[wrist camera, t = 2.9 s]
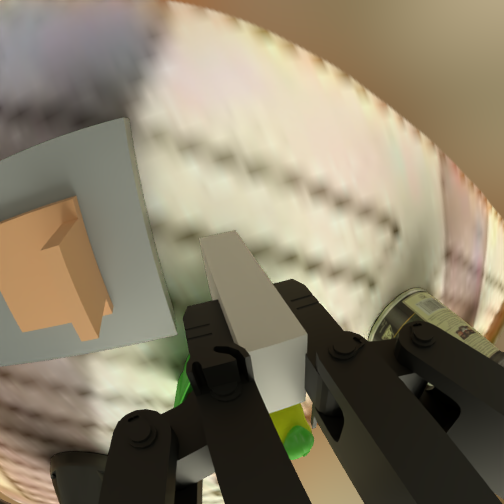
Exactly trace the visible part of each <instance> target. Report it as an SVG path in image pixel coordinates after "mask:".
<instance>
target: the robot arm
mask: <svg viewBox="0 0 504 504" xmlns="http://www.w3.org/2000/svg"><path fill="white" fill-rule="evenodd" d="M199 241H200V246H201V251H202V256H203V261H204V266H205V270H206V275H207V280H208V285H209V289H210V294H211V297H212V300H213V301H209V302H205V303H200V304H196V305H192V306H188V307H187V309H186V312H185V314H184V316H183V321H184V327H185V331H186V338H187V343H188V348H189V354H190V358H189V360H188V362H187V365H186V374H187V377H188V379H189V381H190V384H191V386H192V389H193V390H192V392H191V394H190V395H189V397H188V398H187V399H186V400H185V401H184V402H183V403H181V404H180V405H178V406H177V407H175V408H173V409H171V410H169V411H167V412H165V413H163V414H160V413H158V412H157V411H152V410H148V409H144V410H136V411H133V412H131V413H129V414H127V415H125V416H124V417H123V418H122V419H121V420H120V421H119V422H118V423H117V425H116V428H115V430H114V432H113V436H112V440H111V444H110V449H109V453H108V456H106V455H101V454H95V453H88V452H64V453H59V454H56V455H54V456H53V457H52V458H51V462H50V475H51V479H52V482H53V486H54V489H55V492H56V495H57V498H58V501H59V503H60V504H202V482H203V479H204V478H205V477H207V476H209V475H211V474H213V473H214V472H215V473H216V476H217V480H218V483H219V486H220V490H221V493H222V496H223V499H224V502H225V504H312V503H311V501H310V500H309V497H308V496H307V493H306V491H305V489H304V488H303V486H302V483H301V481H300V480H299V477H298V475H297V473H296V471H295V469H294V467H293V465H292V463H291V460H290V458H289V456H288V454H287V452H286V450H285V448H284V446H283V443H282V441H281V439H280V437H279V435H278V432H277V430H276V428H275V426H274V424H273V421H272V419H271V417H270V415H269V413H272V412H275V411H278V410H281V409H284V408H287V407H290V406H293V405H296V404H299V403H301V402H304V401H305V397H306V392H307V394H308V395H309V397H310V399H311V400H312V402H313V405H312V416H311V425H312V428H316V424H317V423H318V424H319V426H320V428H321V430H322V431H323V433H324V435H325V436H326V438H327V440H328V442H329V444H330V445H331V447H332V449H333V451H334V452H335V454H336V456H337V458H338V459H339V461H340V463H341V464H342V466H343V468H344V469H345V471H346V473H347V475H348V476H349V478H350V480H351V481H352V483H353V485H354V487H355V488H356V490H357V492H358V493H359V495H360V497H361V498H362V500H363V502H364V504H502V503H501V502H500V500H499V499H498V498H497V497H496V495H495V494H497V495H498V496H500V497H501V498H503V499H504V367H503V366H501V365H499V364H498V363H496V362H495V361H493V360H491V359H490V358H488V357H487V356H485V355H483V354H482V353H480V352H479V351H477V350H475V349H474V348H472V347H470V346H469V345H467V344H465V343H464V342H462V341H461V340H459V339H457V338H456V337H454V336H452V335H451V334H449V333H447V332H446V331H444V330H442V329H441V328H439V327H437V326H436V325H433V324H431V323H429V322H425V321H412V322H409V323H407V324H405V325H403V326H402V328H401V329H400V331H399V333H398V337H397V338H394V339H387V340H380V341H367V340H366V339H365V338H363V337H362V336H361V335H359V334H356V333H353V332H350V331H343V329H342V328H341V327H340V326H339V325H338V324H337V322H336V321H335V320H334V319H333V318H332V316H331V315H330V314H329V313H328V312H327V311H326V309H325V308H324V307H323V306H322V305H321V304H320V303H319V301H318V300H317V299H316V298H315V297H314V296H313V295H312V293H311V292H310V291H309V290H308V288H307V287H306V286H305V285H304V284H302V283H300V282H298V281H296V280H294V279H290V280H286V281H282V282H279V283H275V284H272V282H271V281H270V279H269V278H268V276H267V275H266V274H265V272H264V271H263V269H262V268H261V266H260V265H259V264H258V262H257V261H256V259H255V258H254V256H253V255H252V253H251V252H250V251H249V249H248V248H247V246H246V245H245V243H244V242H243V241H242V239H241V238H240V236H239V235H238V233H237V232H236V230H234V231H229V232H225V233H220V234H215V235H211V236H206V237H202V238H199ZM428 382H429V383H430V384H432V385H433V386H430V385H428ZM494 493H495V494H494ZM0 504H11V503H8V502H6V501H4V500H2V499H0Z"/></svg>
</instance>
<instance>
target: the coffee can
mask: <svg viewBox="0 0 504 504" xmlns="http://www.w3.org/2000/svg"><path fill="white" fill-rule="evenodd" d="M412 321H425V322H429V323H431V324H433V325H436V326H437V327H439V328H441V329H442V330H444V331H446V332H447V333H449V334H451V335H452V336H454V337H456V338H457V339H459V340H461V341H462V342H464V343H465V344H467V345H469V346H470V347H472V348H474V349H475V350H477V351H479V352H480V353H482V354H483V355H485V356H487V357H488V358H490V359H491V360H493V361H495V362H496V363H498V364H499V365H501V366H503V367H504V352H501V351H500V350H499V349H498V348H496V347H495V346H494V345H493V344H492V343H491V342H489V341H488V340H487V339H486V338H485V337H483V336H482V335H481V334H480V333H479V332H477V331H476V330H475V329H474V328H473V327H471V326H470V325H469V324H468V323H466V322H465V321H464V320H463V319H461V318H460V317H459V316H457V315H456V314H455V313H454V312H452V311H451V310H450V309H448V308H447V307H446V306H445V305H443V304H442V303H441V302H439V301H438V300H437V299H435V298H434V297H433V296H431V295H430V294H429V293H428V292H427V291H426V290H424V289H422V288H413V289H410V290H408V291H406V292H404V293H402V294H401V295H399V296H398V297H397V298H396V299H395V300H393V301H392V302H391V303H390V304H389V305H388V306H387V307H386V308H385V310H384V311H383V312H382V313H381V315H380V316H379V317H378V319H377V321H376V322H375V324H374V326H373V328H372V330H371V333H370V336H369V340H368V341H380V340H387V339H394V338H397V337H398V333H399V331H400V329H401V328H402V326H403V325H405V324H407V323H409V322H412ZM428 385H430V386H433V385H432V384H430V383H429V382H428Z"/></svg>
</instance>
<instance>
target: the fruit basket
mask: <svg viewBox="0 0 504 504" xmlns="http://www.w3.org/2000/svg"><path fill="white" fill-rule="evenodd" d="M189 358H190V354H189V355H188V358H187V360H186V363H185V366H184V371H183V373H182V374H181V376H180V378H179V381H178V384H177V390H176V397H175V403H174V408H175V407H177V406H178V405H180V404H181V403H183V402H184V401H185V400H186V399H187V398H188V397H189V395H190V394H191V392H192V390H193V389H192V386H191V384H190V381H189V379H188V377H187V374H186V365H187V362H188V360H189ZM269 415H270V417H271V419H272V421H273V424H274V426H275V428H276V430H277V432H278V435H279V437H280V439H281V441H282V443H283V446H284V448H285V450H286V452H287V454H288V456H289V458H290V460H294V459H298V458H300V457H302V456H306V455H307V454H308V453H309V452H310V449H311V448H312V446H313V443H314V437H313V435H312V431H311V428H310V426H309V425H308V423H307V421H306V419H305V416H304V412H303V408H302V406H301V404H300V403H299V404H296V405H293V406H290V407H287V408H284V409H281V410H278V411H275V412H272V413H269Z"/></svg>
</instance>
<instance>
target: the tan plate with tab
mask: <svg viewBox="0 0 504 504" xmlns="http://www.w3.org/2000/svg"><path fill="white" fill-rule="evenodd" d="M0 291H1V293H2V295H3V297H4V299H5V301H6V303H7V305H8V307H9V309H10V311H11V313H12V315H13V317H14V319H15V320H16V322H17V324H18V326H19V327H20V329H21V331H22V333H23V332H28V331H33V330H38V329H43V328H48V327H53V326H58V325H63V324H67V323H72V325H73V327H74V328H75V330H76V332H77V334H78V336H79V338H80V340H81V341H88V340H93V339H98V338H99V334H100V328H101V322H102V317H103V316H105V315H109V314H112V313H113V307H114V306H113V304H112V301H111V299H110V297H109V294H108V291H107V289H106V286H105V284H104V281H103V278H102V276H101V273H100V270H99V268H98V265H97V262H96V259H95V256H94V253H93V250H92V247H91V244H90V241H89V238H88V235H87V231H86V228H85V225H84V221H83V218H82V214H81V211H80V207H79V204H78V200H77V196H73V197H70V198H66V199H63V200H60V201H57V202H54V203H51V204H48V205H45V206H42V207H39V208H36V209H33V210H31V211H28V212H25V213H22V214H20V215H17V216H14V217H12V218H9V219H6V220H4V221H1V222H0Z"/></svg>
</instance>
